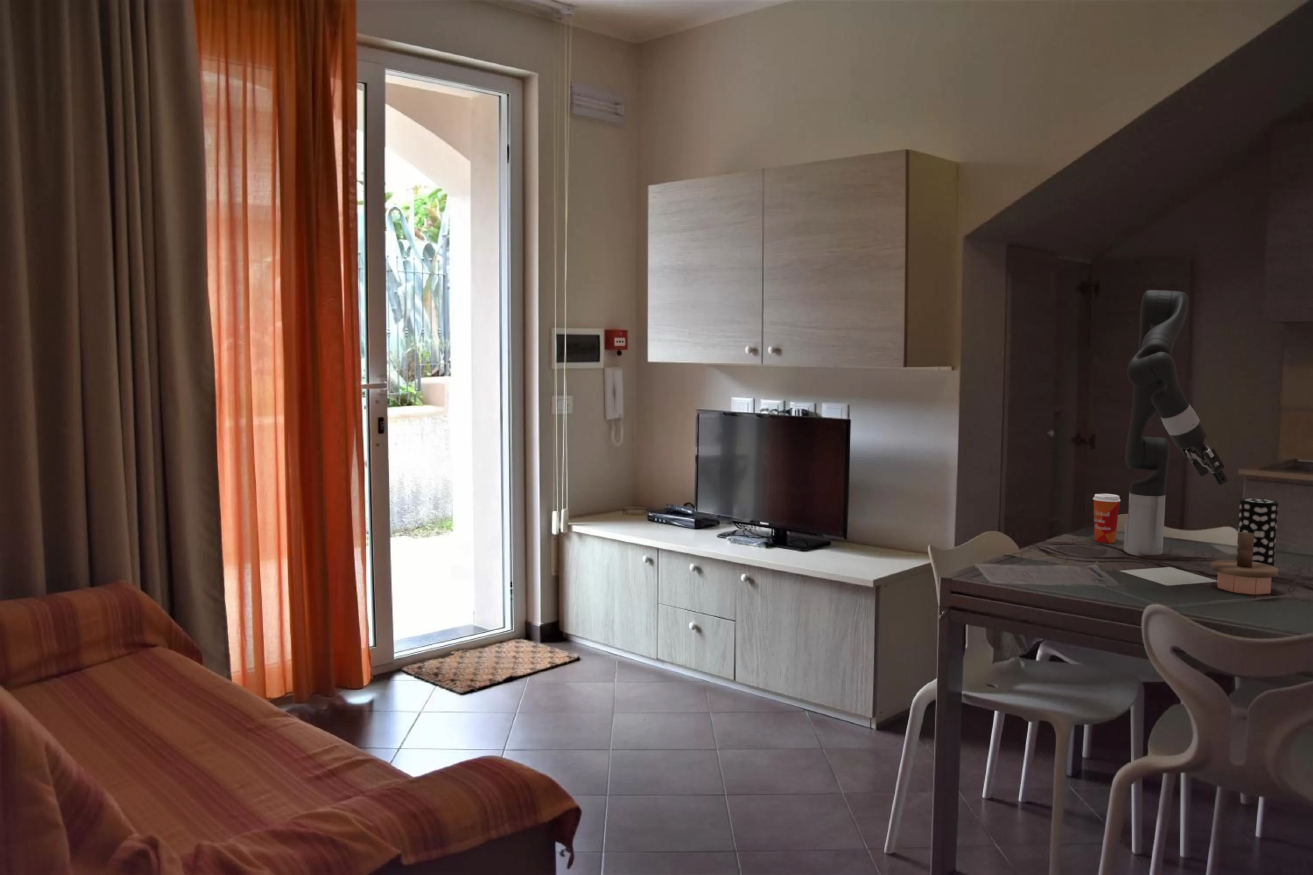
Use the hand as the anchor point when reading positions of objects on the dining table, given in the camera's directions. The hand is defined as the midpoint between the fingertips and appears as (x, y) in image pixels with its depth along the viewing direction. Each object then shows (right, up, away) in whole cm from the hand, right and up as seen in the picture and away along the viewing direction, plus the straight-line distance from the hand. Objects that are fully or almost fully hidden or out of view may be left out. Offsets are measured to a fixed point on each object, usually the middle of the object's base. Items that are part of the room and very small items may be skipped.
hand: (1213, 478), depth 248 cm
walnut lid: (+4, -22, -7) cm, 23 cm away
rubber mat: (-8, -26, +6) cm, 28 cm away
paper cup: (-3, -21, +53) cm, 57 cm away
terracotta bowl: (+4, -27, -6) cm, 28 cm away
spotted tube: (+14, -26, +7) cm, 31 cm away
